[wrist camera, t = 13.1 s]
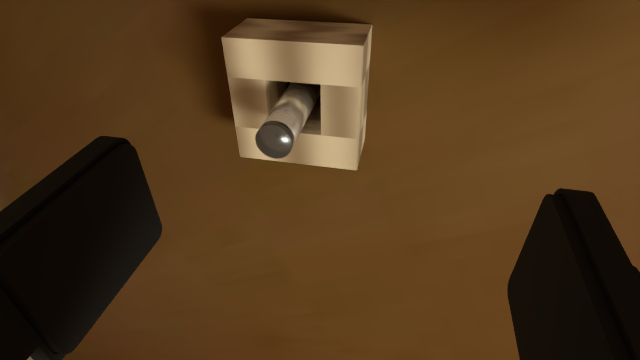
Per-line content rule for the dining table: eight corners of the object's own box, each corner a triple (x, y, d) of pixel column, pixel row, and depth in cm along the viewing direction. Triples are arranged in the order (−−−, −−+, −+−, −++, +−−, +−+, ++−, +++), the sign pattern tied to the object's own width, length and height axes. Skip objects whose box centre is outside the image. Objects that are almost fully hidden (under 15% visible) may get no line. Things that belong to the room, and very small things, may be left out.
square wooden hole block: (372, 24, 36) (363, 45, 31) (364, 139, 43) (356, 170, 38) (247, 18, 38) (221, 37, 33) (259, 128, 45) (240, 156, 40)
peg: (323, 69, 39) (290, 127, 30) (323, 97, 41) (292, 160, 32) (294, 67, 40) (253, 123, 30) (295, 94, 42) (257, 156, 32)
